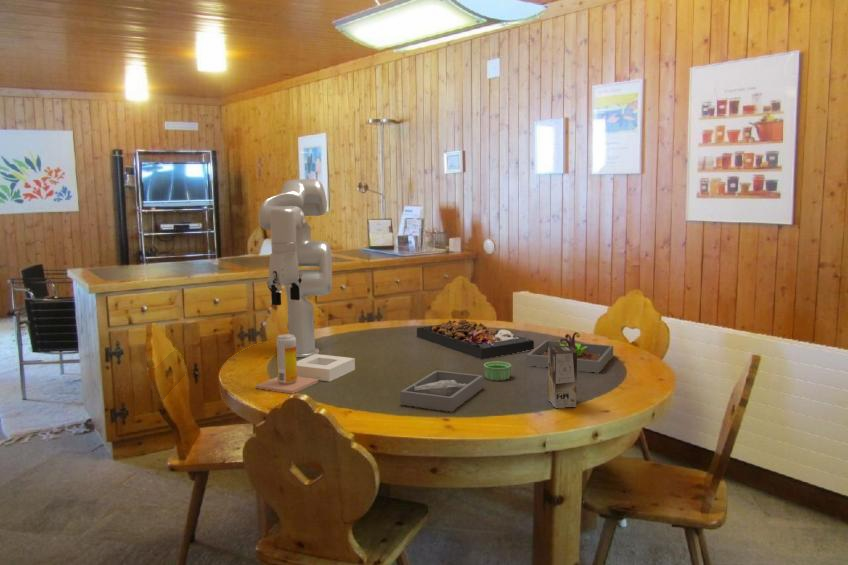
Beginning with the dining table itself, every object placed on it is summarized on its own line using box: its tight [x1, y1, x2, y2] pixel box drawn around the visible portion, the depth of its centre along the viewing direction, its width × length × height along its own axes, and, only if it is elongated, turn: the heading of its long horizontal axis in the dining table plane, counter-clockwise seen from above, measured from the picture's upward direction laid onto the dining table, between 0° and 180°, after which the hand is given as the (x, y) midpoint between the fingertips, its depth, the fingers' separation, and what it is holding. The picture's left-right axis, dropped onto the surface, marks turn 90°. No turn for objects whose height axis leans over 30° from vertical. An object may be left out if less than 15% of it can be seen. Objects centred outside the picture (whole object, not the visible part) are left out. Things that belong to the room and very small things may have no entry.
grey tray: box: [399, 370, 484, 413], centre depth 211 cm, size 16×25×4 cm, turn 155°
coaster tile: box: [255, 376, 319, 395], centre depth 224 cm, size 14×14×1 cm
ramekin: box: [483, 360, 512, 382], centre depth 231 cm, size 9×9×4 cm
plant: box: [541, 331, 601, 361], centre depth 250 cm, size 20×20×11 cm
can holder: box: [297, 353, 356, 382], centre depth 238 cm, size 16×16×4 cm
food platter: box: [416, 318, 535, 360], centre depth 280 cm, size 45×25×10 cm, turn 32°
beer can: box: [275, 333, 298, 384], centre depth 223 cm, size 6×6×15 cm
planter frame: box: [525, 339, 614, 374], centre depth 251 cm, size 25×25×4 cm
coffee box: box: [547, 346, 578, 409], centre depth 202 cm, size 9×6×16 cm
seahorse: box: [412, 380, 467, 397], centre depth 211 cm, size 5×12×20 cm
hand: (286, 302), depth 222 cm, fingers open, 9 cm apart
